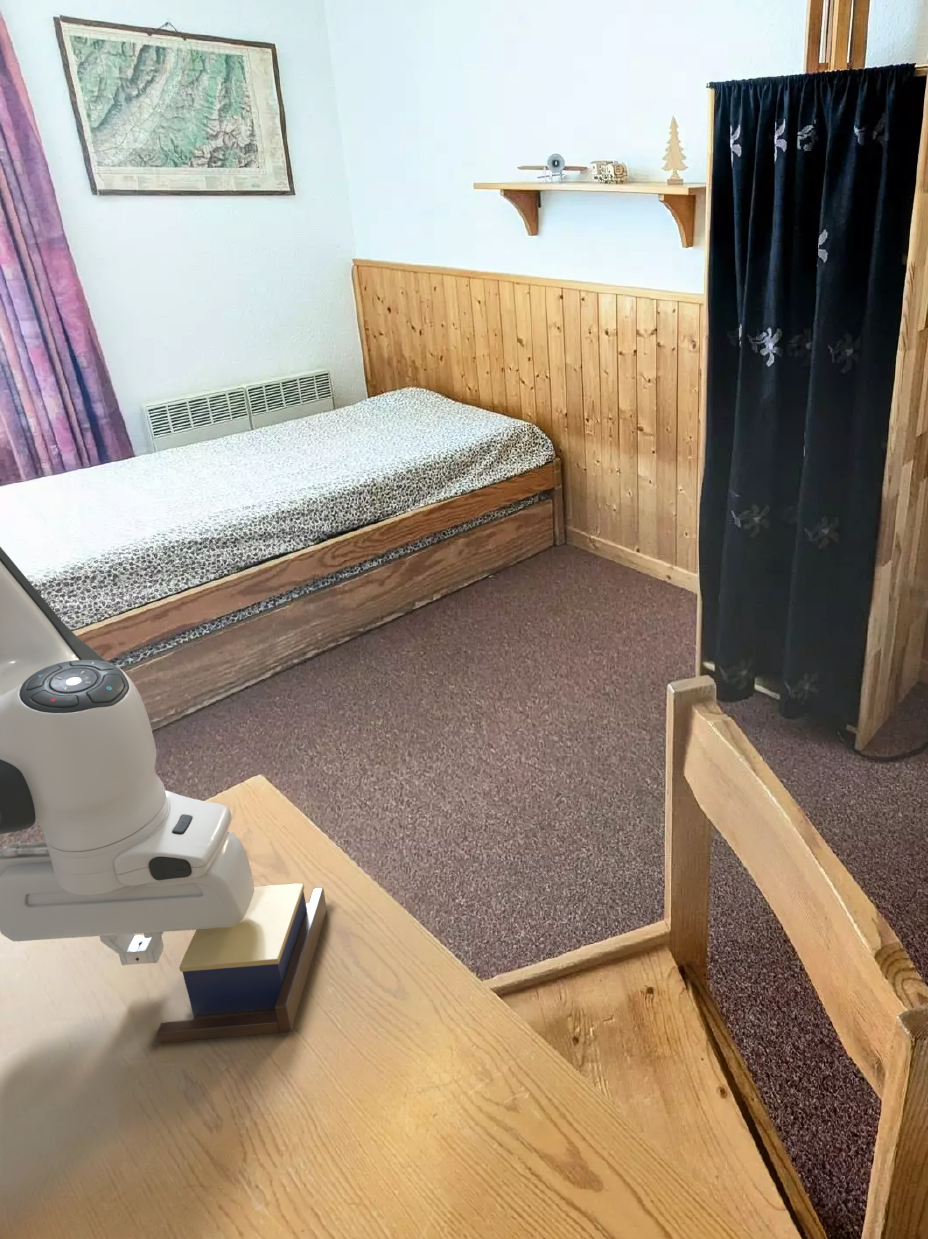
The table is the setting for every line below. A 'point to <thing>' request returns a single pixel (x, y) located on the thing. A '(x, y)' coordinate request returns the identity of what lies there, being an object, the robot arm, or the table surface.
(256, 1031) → the bay
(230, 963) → the toy box
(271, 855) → the table surface
